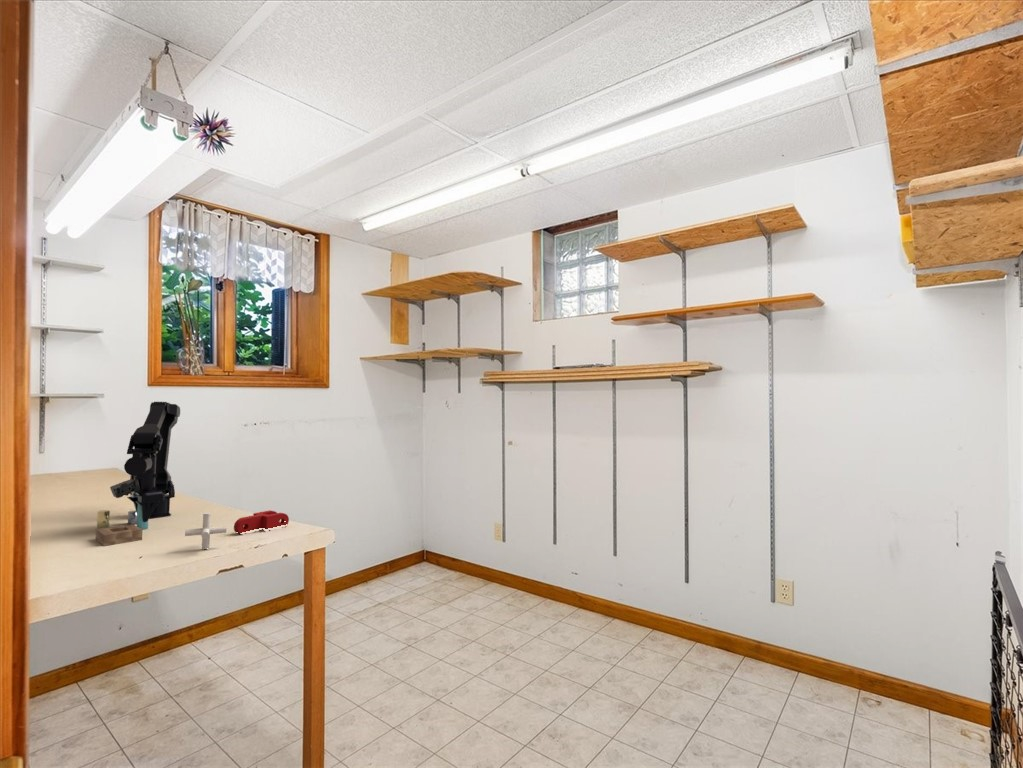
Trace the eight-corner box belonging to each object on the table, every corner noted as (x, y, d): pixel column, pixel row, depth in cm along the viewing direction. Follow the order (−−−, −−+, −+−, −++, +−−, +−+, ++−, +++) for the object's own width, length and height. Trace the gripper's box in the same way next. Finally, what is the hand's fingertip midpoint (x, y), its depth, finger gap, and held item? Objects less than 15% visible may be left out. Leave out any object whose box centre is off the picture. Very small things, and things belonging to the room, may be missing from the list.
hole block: (132, 533, 162) (132, 524, 162) (142, 539, 156) (142, 529, 156) (95, 539, 155) (96, 529, 155) (104, 545, 149) (104, 535, 149)
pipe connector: (183, 556, 142) (184, 518, 142) (186, 546, 151) (187, 510, 151) (225, 552, 147) (226, 515, 147) (226, 542, 155) (227, 508, 156)
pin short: (137, 522, 176) (137, 510, 176) (140, 523, 174) (140, 511, 174) (126, 523, 173) (126, 511, 173) (129, 525, 171) (129, 512, 172)
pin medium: (107, 529, 166) (108, 509, 166) (110, 530, 164) (111, 511, 164) (95, 530, 164) (96, 511, 164) (98, 532, 162) (99, 512, 162)
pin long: (146, 527, 170) (147, 498, 170) (149, 528, 168) (150, 500, 168) (135, 528, 168) (136, 499, 168) (138, 530, 166) (139, 501, 166)
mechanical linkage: (274, 524, 179) (275, 509, 179) (288, 527, 175) (289, 512, 175) (228, 534, 165) (229, 517, 165) (242, 537, 162) (243, 521, 162)
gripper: (105, 470, 168) (102, 519, 168) (123, 477, 156) (120, 530, 156) (146, 466, 177) (144, 514, 176) (166, 473, 165) (164, 524, 164)
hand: (142, 520), depth 168 cm, fingers open, 4 cm apart
